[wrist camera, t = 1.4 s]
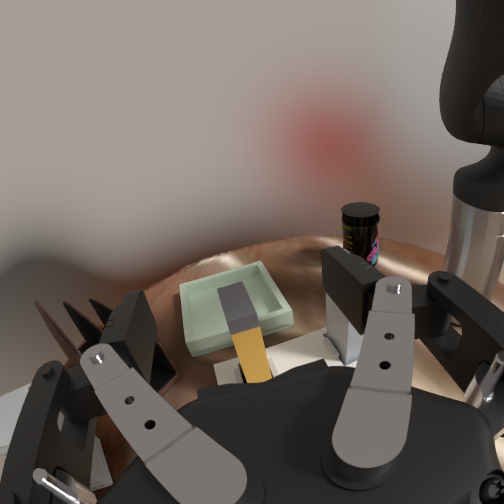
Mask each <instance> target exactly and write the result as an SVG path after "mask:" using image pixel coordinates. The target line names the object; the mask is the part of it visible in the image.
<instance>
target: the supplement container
mask: <svg viewBox="0 0 504 504" xmlns="http://www.w3.org/2000/svg"><path fill="white" fill-rule="evenodd" d="M341 216H342V217H341V219H342V233H343V249H346V250H347V251H348V252H350V253H352V254H355V255H358V256H360V257H362V258H363V259H364V260H366V261H367V262H368V263H369V264H371V265H372V267H374V266H375V265H376V264H377V262H378V254H379V221H380V209H379V207H378V206H376V205H374V204H371V203H365V202H357V203H350V204H347V205H345V206H343V207H342V209H341Z"/></svg>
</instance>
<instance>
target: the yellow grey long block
mask: <svg viewBox="0 0 504 504" xmlns="http://www.w3.org/2000/svg"><path fill="white" fill-rule="evenodd" d="M217 292H218V295H219V299H220V302H221V305H222V309H223V312H224V315H225V318H226V322H227V325H228V328H229V331H230V334H231V337H232V340H233V343H234V346H235V349H236V352H237V355H238V358H239V361H240V364H241V366H242V369H243V372H244V375H245V378H246V381H247V383H258V382H264V381H267V380H269V379H271V378H272V376H271V372H270V368H269V363H268V359H267V355H266V350H265V346H264V342H263V338H262V333H261V329H260V325H259V320H258V316H257V312H256V310H255V308H254V306H253V304H252V301H251V299H250V297H249V295H248V293H247V290H246V288H245V286H244V284H243V282H242V281H241V282H237V283H234V284H231V285H227V286H224V287H221V288H217Z"/></svg>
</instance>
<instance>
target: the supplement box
mask: <svg viewBox="0 0 504 504" xmlns="http://www.w3.org/2000/svg"><path fill="white" fill-rule="evenodd" d="M30 386H31V383H30V384H27V385H25V386H23V387H20V388H18V389H16V390H14V391H11V392H9V393H6V394H4V395H2V396H0V455H2V456H3V457H4V458H6V456H7V452H8V448H9V445H10V442H11V438H12V435H13V432H14V429H15V426H16V423H17V420H18V417H19V414H20V411H21V409H22V406H23V403H24V401H25V398H26V396H27V393H28V391H29V388H30ZM63 420H64V416H63V414H62V413H61V412H60V413H59V416H58V427H59V430H60V432H61V429H62V424H63ZM112 484H113V481H112V478H111V475H110V472H109V469H108V466H107V463H106V460H105V456H104V453H103V449H102V446H101V442H100V439H99V438H97V437H96V436H95V440H94V449H93V458H92V468H91V481H90V489H91V490H92V491H94V490H97V489H101V488H104V487H107V486H110V485H112Z"/></svg>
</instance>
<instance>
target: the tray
mask: <svg viewBox="0 0 504 504" xmlns="http://www.w3.org/2000/svg"><path fill="white" fill-rule="evenodd" d="M241 281H242V282H243V284H244V286H245V288H246V290H247V293H248V295H249V297H250V299H251V301H252V304H253V306H254V308H255V310H256V312H257V316H258V320H259V325H260V329H261V333H262V337H263V336H266V335H269V334H272V333H275V332H278V331H281V330H284V329H287V328H290V327H293V326H294V321H293V313H292V309H291V308H290V306H289V305H288V303H287V301H286V300H285V298H284V297H283V295H282V293H281V292H280V290H279V289H278V287H277V286H276V284H275V282H274V281H273V279H272V278H271V276H270V274H269V273H268V271H267V270H266V268H265V267H264V265H263V263H262V262H261V261H258V262H255V263H252V264H248V265H245V266H241V267H238V268H235V269H231V270H228V271H225V272H221V273H218V274H214V275H211V276H208V277H204V278H201V279H197V280H194V281H190V282H187V283H184V284H180V296H181V307H182V317H183V326H184V335H185V343H186V345H187V347H188V349H189V351H190V353H191V356H192V358H193V357H196V356H200V355H204V354H207V353H211V352H214V351H218V350H221V349H225V348H228V347H231V346H234V343H233V340H232V337H231V334H230V331H229V328H228V325H227V322H226V318H225V315H224V312H223V309H222V305H221V302H220V299H219V295H218V292H217V288H221V287H224V286H227V285H231V284H234V283H237V282H241Z"/></svg>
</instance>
